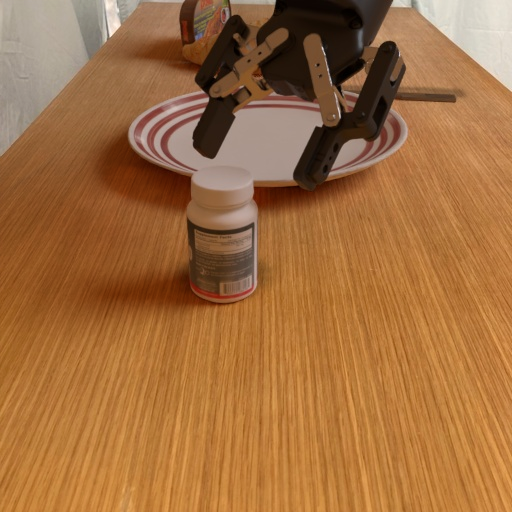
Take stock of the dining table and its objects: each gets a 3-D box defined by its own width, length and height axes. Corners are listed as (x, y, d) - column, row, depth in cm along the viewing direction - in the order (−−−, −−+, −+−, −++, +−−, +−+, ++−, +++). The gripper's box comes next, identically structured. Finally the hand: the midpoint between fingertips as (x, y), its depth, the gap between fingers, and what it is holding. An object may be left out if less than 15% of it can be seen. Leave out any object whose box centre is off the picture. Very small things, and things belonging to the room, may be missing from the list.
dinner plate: (92, 202, 60) (87, 167, 58) (165, 103, 83) (163, 75, 82) (414, 221, 57) (419, 185, 56) (396, 113, 81) (399, 85, 79)
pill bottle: (204, 264, 51) (200, 158, 47) (265, 274, 50) (267, 166, 46) (179, 298, 47) (173, 186, 43) (245, 310, 46) (245, 196, 42)
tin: (197, 63, 99) (195, 1, 95) (177, 61, 100) (174, -1, 96) (234, 39, 111) (233, -16, 107) (215, 38, 112) (214, -18, 108)
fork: (319, 96, 86) (320, 92, 86) (320, 92, 88) (320, 88, 87) (456, 102, 85) (456, 98, 84) (454, 97, 86) (454, 93, 86)
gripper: (247, -79, 49) (143, 119, 47) (432, -65, 42) (319, 171, 40) (288, -10, 56) (198, 167, 54) (455, 13, 48) (358, 219, 46)
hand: (249, 168), depth 47 cm, fingers open, 8 cm apart
